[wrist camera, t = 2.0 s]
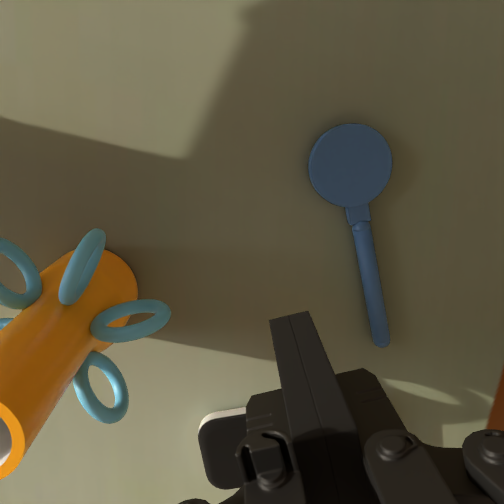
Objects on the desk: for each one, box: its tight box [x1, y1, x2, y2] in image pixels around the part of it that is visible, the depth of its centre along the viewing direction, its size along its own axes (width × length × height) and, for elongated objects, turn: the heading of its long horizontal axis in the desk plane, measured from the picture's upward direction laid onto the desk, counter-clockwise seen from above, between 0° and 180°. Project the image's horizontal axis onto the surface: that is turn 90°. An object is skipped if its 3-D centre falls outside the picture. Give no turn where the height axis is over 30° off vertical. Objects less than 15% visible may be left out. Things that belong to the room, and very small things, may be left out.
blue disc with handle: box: [308, 123, 392, 348], centre depth 29 cm, size 16×5×1 cm, turn 14°
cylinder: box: [0, 228, 171, 480], centre depth 22 cm, size 12×10×15 cm
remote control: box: [198, 407, 247, 489], centre depth 33 cm, size 6×13×2 cm, turn 99°
